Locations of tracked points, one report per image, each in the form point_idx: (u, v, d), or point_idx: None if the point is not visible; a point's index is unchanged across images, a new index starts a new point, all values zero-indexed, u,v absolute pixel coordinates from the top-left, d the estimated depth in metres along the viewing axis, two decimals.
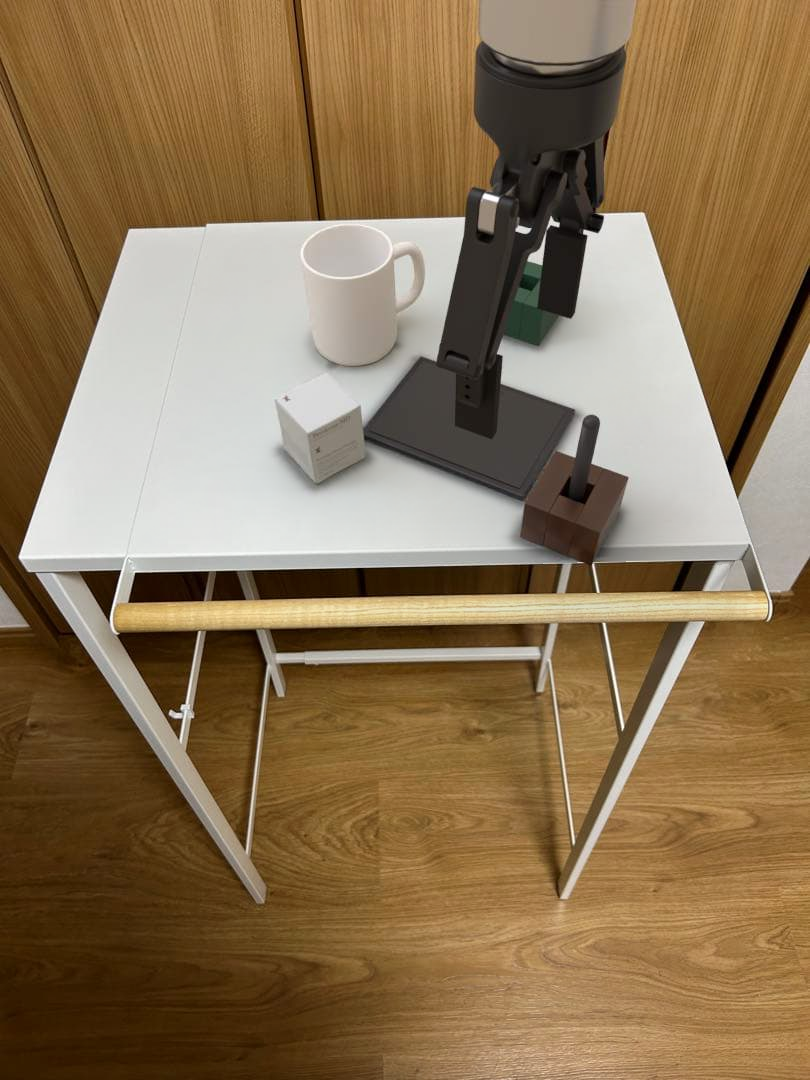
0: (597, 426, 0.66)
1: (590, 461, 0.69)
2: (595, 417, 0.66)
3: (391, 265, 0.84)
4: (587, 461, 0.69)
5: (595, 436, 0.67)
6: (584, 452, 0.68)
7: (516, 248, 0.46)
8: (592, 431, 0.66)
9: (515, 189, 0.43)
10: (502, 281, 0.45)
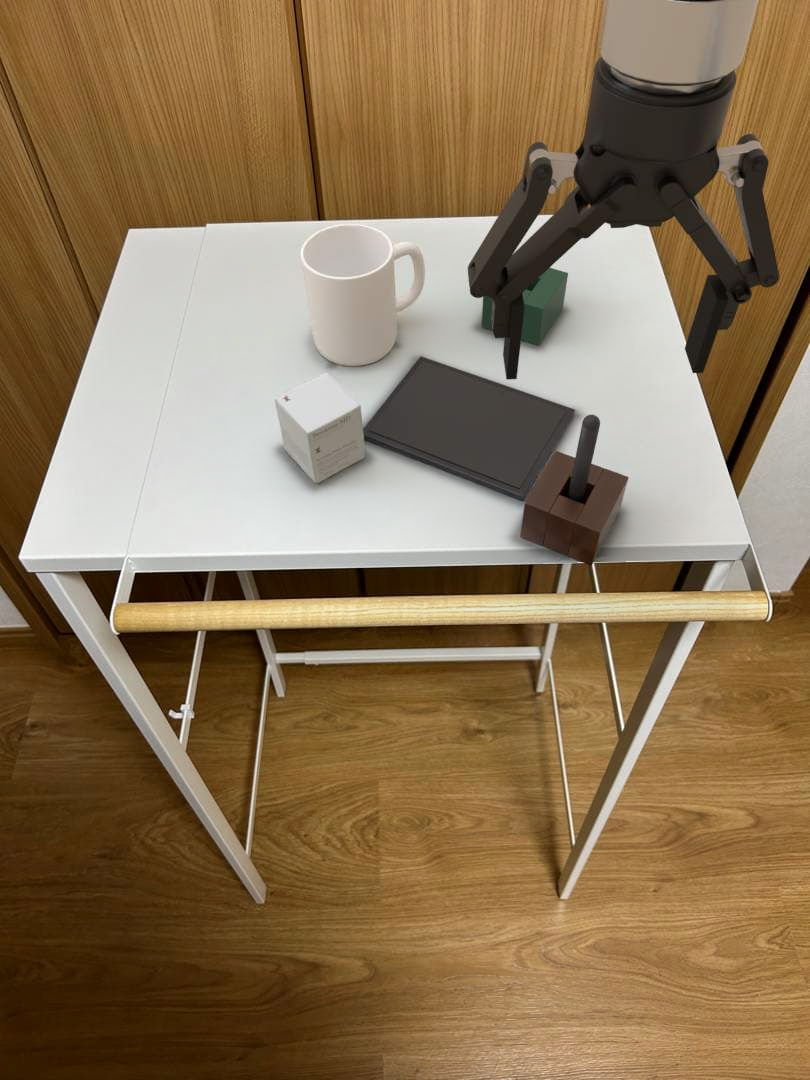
0: (597, 426, 0.66)
1: (590, 461, 0.69)
2: (595, 417, 0.66)
3: (391, 265, 0.84)
4: (587, 461, 0.69)
5: (595, 436, 0.67)
6: (584, 452, 0.68)
7: (567, 222, 0.51)
8: (592, 431, 0.66)
9: (572, 166, 0.49)
10: (522, 231, 0.51)
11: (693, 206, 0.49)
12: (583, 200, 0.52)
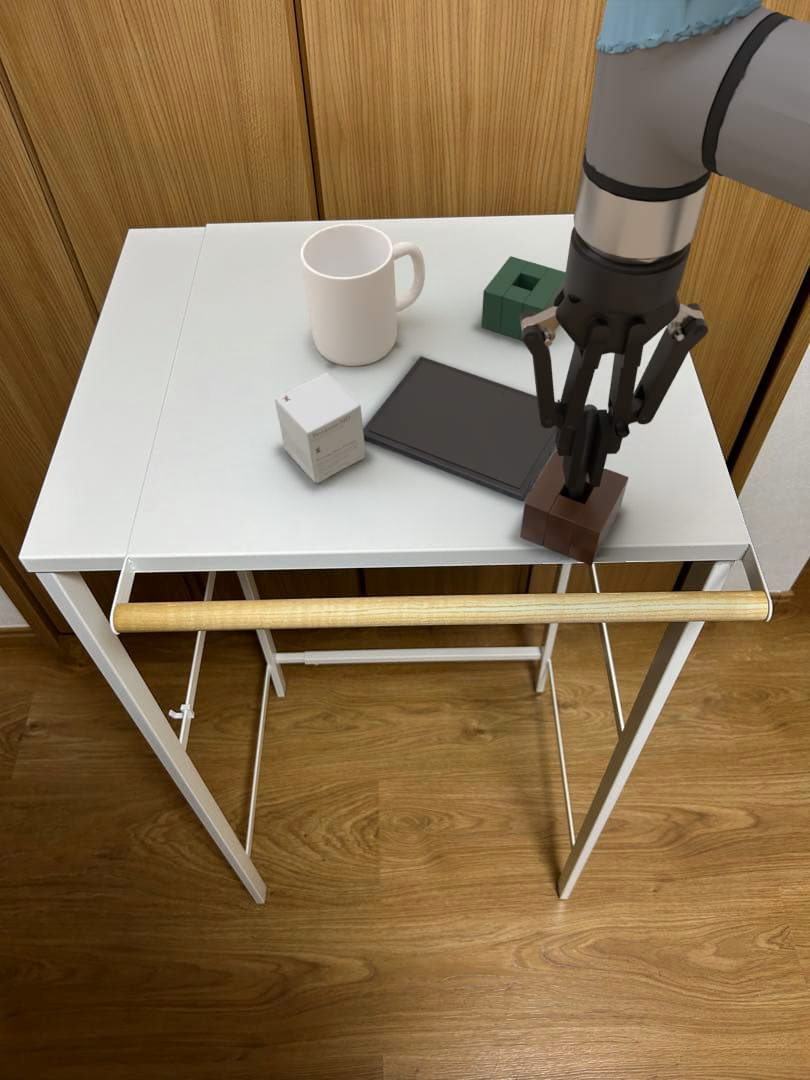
0: (595, 415, 0.67)
1: (589, 453, 0.70)
2: (593, 406, 0.67)
3: (391, 265, 0.84)
4: (586, 453, 0.70)
5: (593, 426, 0.68)
6: None
7: (578, 363, 0.60)
8: (590, 420, 0.67)
9: (553, 318, 0.57)
10: (548, 375, 0.61)
11: (641, 350, 0.58)
12: None
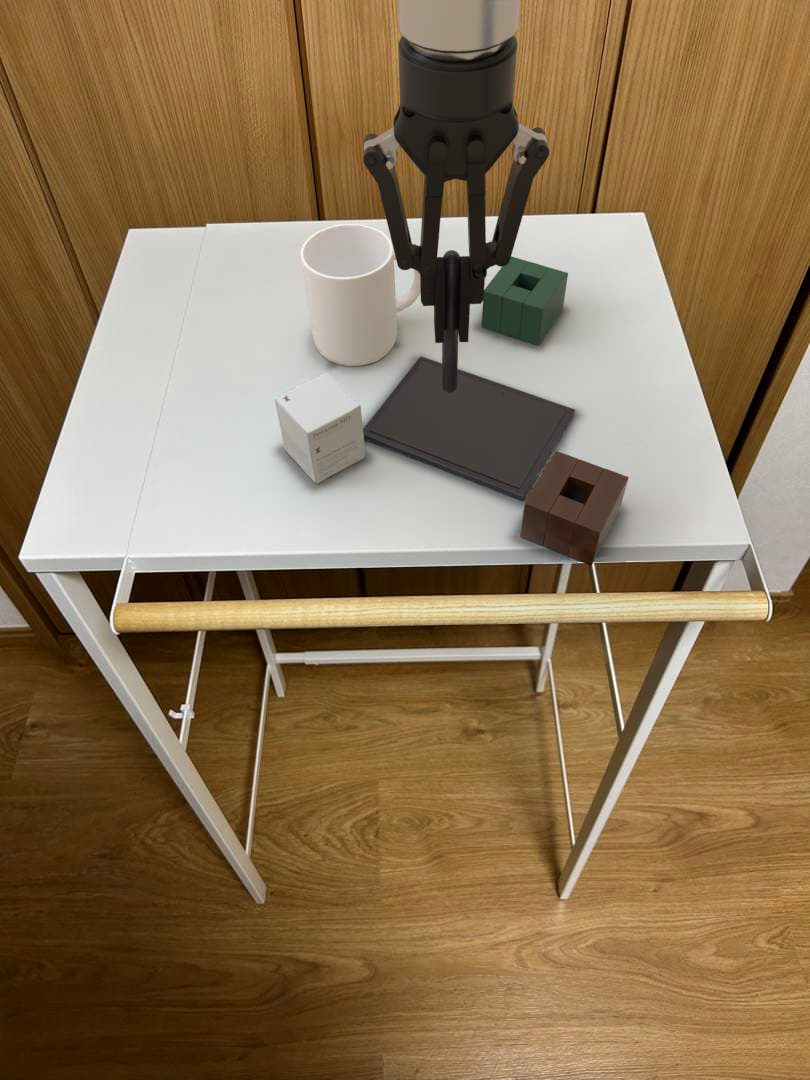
0: (456, 260, 0.66)
1: (456, 306, 0.69)
2: (454, 251, 0.66)
3: (391, 265, 0.84)
4: (452, 305, 0.69)
5: (456, 273, 0.67)
6: (448, 294, 0.68)
7: (425, 192, 0.60)
8: (452, 266, 0.66)
9: (393, 138, 0.57)
10: (395, 205, 0.60)
11: (484, 173, 0.58)
12: None
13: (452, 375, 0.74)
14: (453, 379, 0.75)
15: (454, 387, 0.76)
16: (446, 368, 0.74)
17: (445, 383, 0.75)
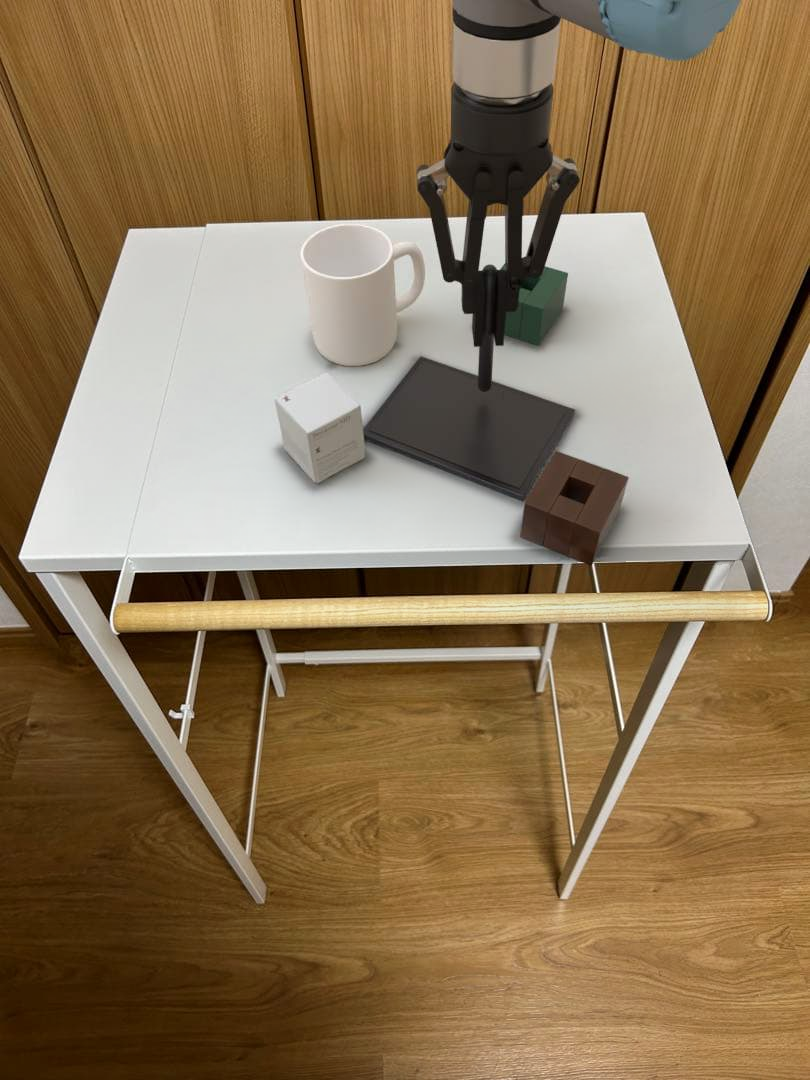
0: (494, 273, 0.75)
1: (493, 314, 0.78)
2: (492, 265, 0.75)
3: (391, 265, 0.84)
4: (489, 313, 0.78)
5: (494, 285, 0.76)
6: (486, 303, 0.77)
7: (470, 215, 0.68)
8: (490, 278, 0.75)
9: (443, 169, 0.65)
10: (444, 226, 0.69)
11: (522, 198, 0.66)
12: None
13: (487, 375, 0.83)
14: (488, 379, 0.83)
15: (489, 387, 0.84)
16: (482, 370, 0.82)
17: (481, 383, 0.84)
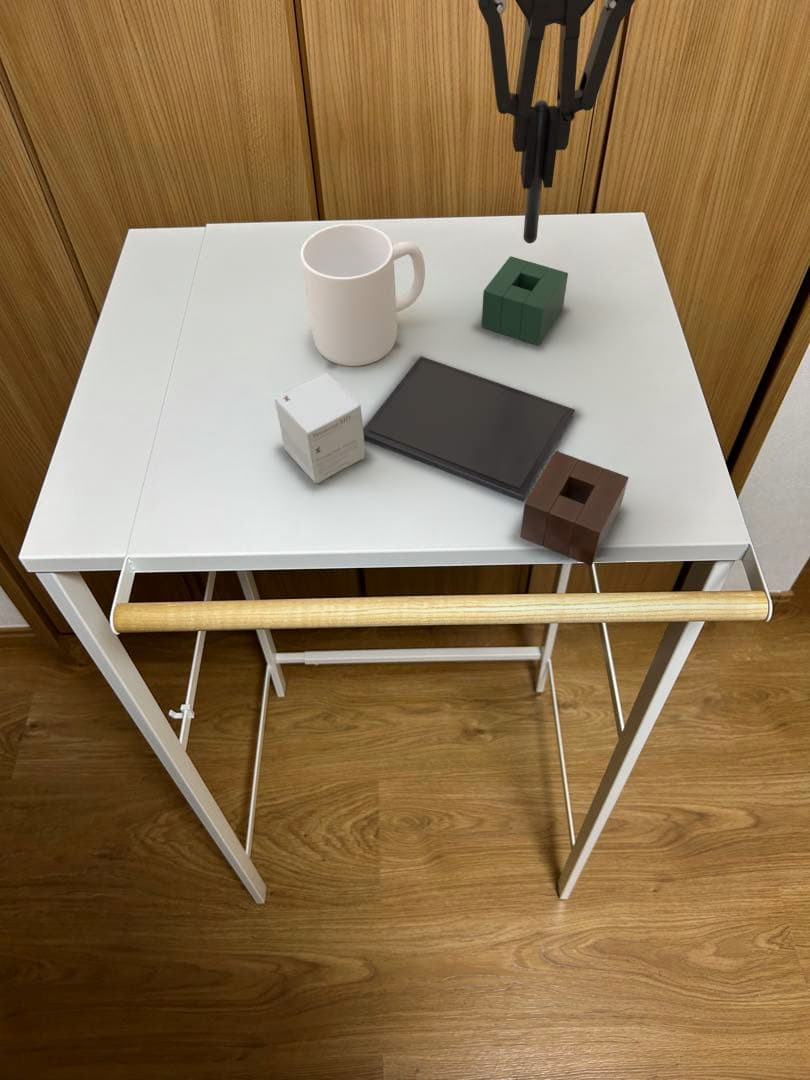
0: (546, 108, 0.77)
1: (542, 154, 0.80)
2: (544, 101, 0.77)
3: (391, 265, 0.84)
4: (539, 153, 0.79)
5: (545, 121, 0.77)
6: (536, 142, 0.79)
7: (527, 37, 0.70)
8: (542, 114, 0.77)
9: None
10: (501, 48, 0.70)
11: (580, 16, 0.68)
12: None
13: (533, 224, 0.85)
14: (534, 229, 0.85)
15: (534, 237, 0.86)
16: (528, 218, 0.84)
17: (527, 233, 0.86)
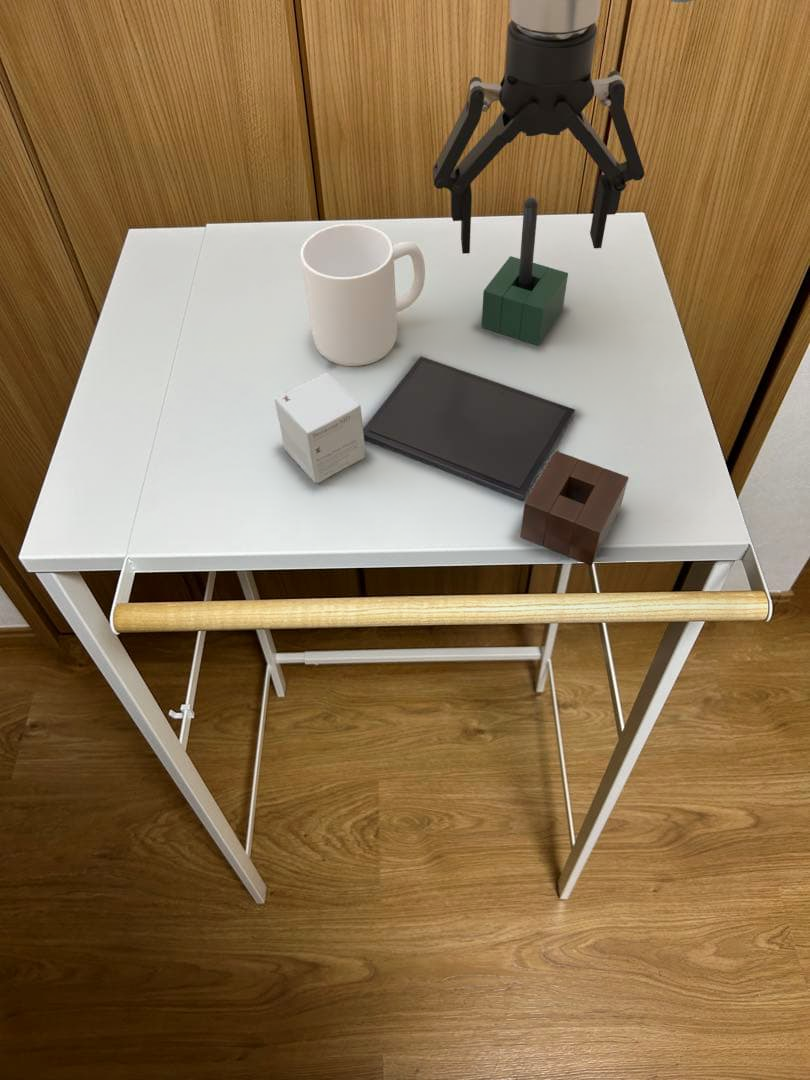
0: (535, 205, 0.85)
1: (532, 244, 0.88)
2: (533, 198, 0.85)
3: (391, 265, 0.84)
4: (530, 243, 0.87)
5: (534, 216, 0.85)
6: (527, 233, 0.87)
7: (497, 132, 0.77)
8: (531, 210, 0.85)
9: (497, 92, 0.74)
10: (466, 138, 0.77)
11: (578, 119, 0.75)
12: (508, 118, 0.78)
13: None
14: None
15: None
16: None
17: None
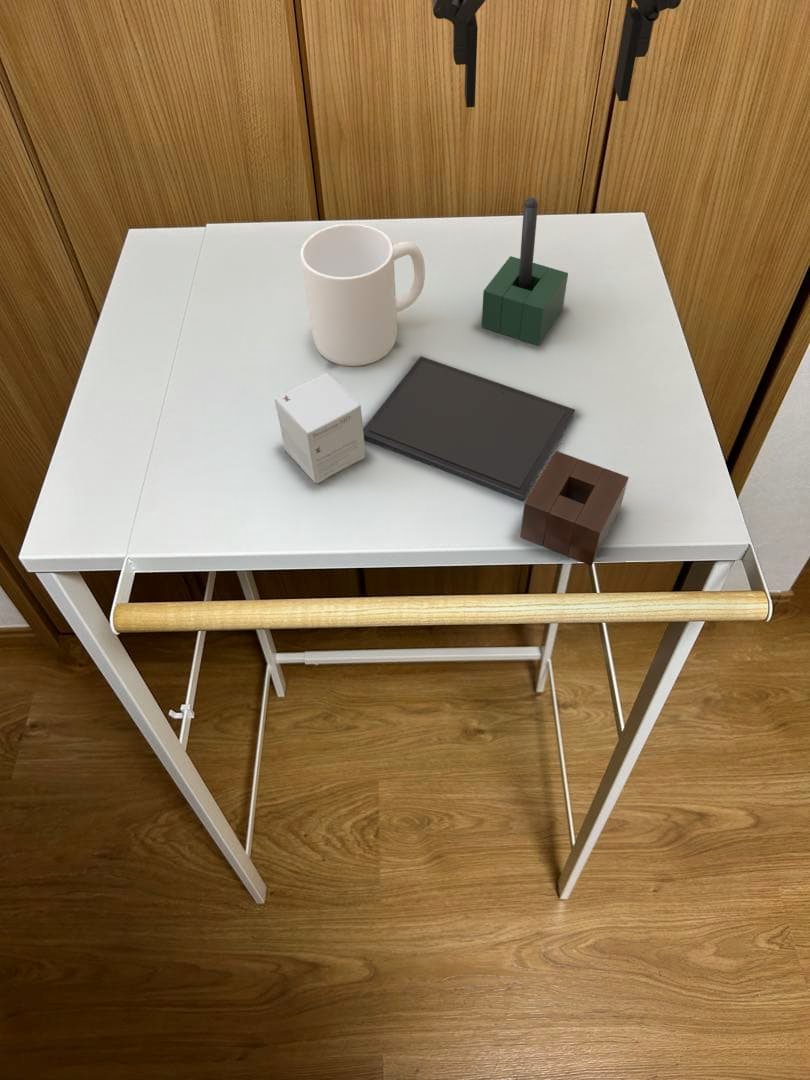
0: (535, 205, 0.85)
1: (532, 244, 0.88)
2: (533, 198, 0.85)
3: (391, 265, 0.84)
4: (530, 243, 0.87)
5: (534, 216, 0.85)
6: (527, 233, 0.87)
7: None
8: (531, 210, 0.85)
9: None
10: None
11: None
12: None
13: None
14: None
15: None
16: None
17: None
